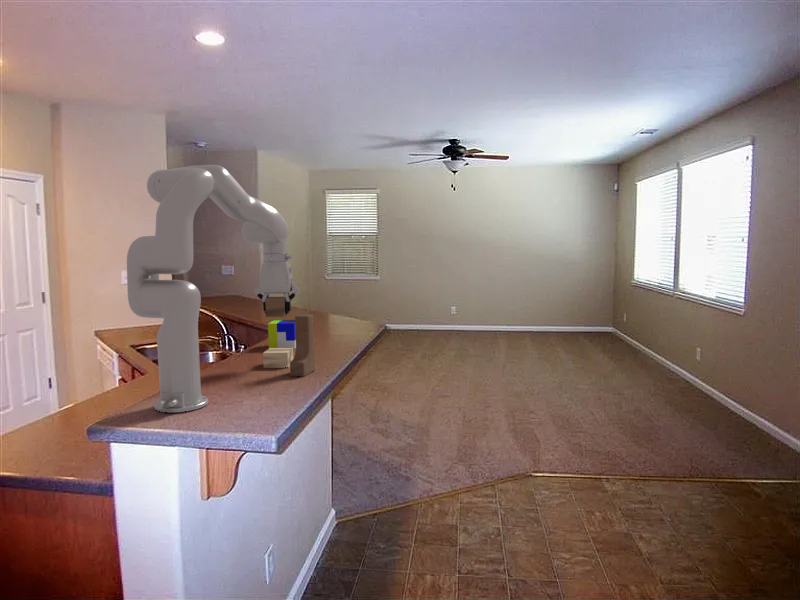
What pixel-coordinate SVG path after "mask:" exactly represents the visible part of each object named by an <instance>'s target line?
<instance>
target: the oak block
mask: <svg viewBox="0 0 800 600" xmlns="http://www.w3.org/2000/svg"><path fill="white" fill-rule="evenodd" d="M262 359H263V360H262V361H263V362H262V363H263V369H287V367H288V368H290V362H291V361H292V360H293V359H294V349H293V348H269V347H268V349H266V350H265V351H264V352H262ZM285 367H286V368H285Z"/></svg>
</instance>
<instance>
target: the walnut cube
mask: <svg viewBox="0 0 800 600" xmlns="http://www.w3.org/2000/svg"><path fill="white" fill-rule="evenodd" d="M285 302H286V299H285V296H284V295H283V296H282V295H281V296H277V295H275V296H269V297H268V298H265V304H266V314H265V317H266V318H269V317H270V318H271V317H272V318H274V317H275V318H277V317H280V318H281V317H282V318H283V317H286V316H288V315H289V314H290V312H289V313H288V314H285Z"/></svg>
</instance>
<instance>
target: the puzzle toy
mask: <svg viewBox="0 0 800 600" xmlns="http://www.w3.org/2000/svg"><path fill="white" fill-rule="evenodd" d="M267 330H268V331H267V332H268V333H267V335H268V349H269V348H293V350H296V349H295V348H296V331H295V319H274V320H272V321H270V322H268V323H267Z"/></svg>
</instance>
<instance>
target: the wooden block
mask: <svg viewBox="0 0 800 600" xmlns="http://www.w3.org/2000/svg"><path fill="white" fill-rule="evenodd" d="M294 320H295V331H296V349H295V354H294V356H293V360H292V361H291V362H290V366H289V368H290V377H297V376H300V378H301V377H302V378H303V376H304V377H306V376H307V375H309V374H310V373H313V372H314V371H315V370H316V364H315V363H316V361H315V358H316V357H315V356H316V355H315V331H314V330H315V329H314V327H315V326H314V323H315V321H314V314H304V313H303V314H297V315H295V316H294ZM312 371H313V372H312Z"/></svg>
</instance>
